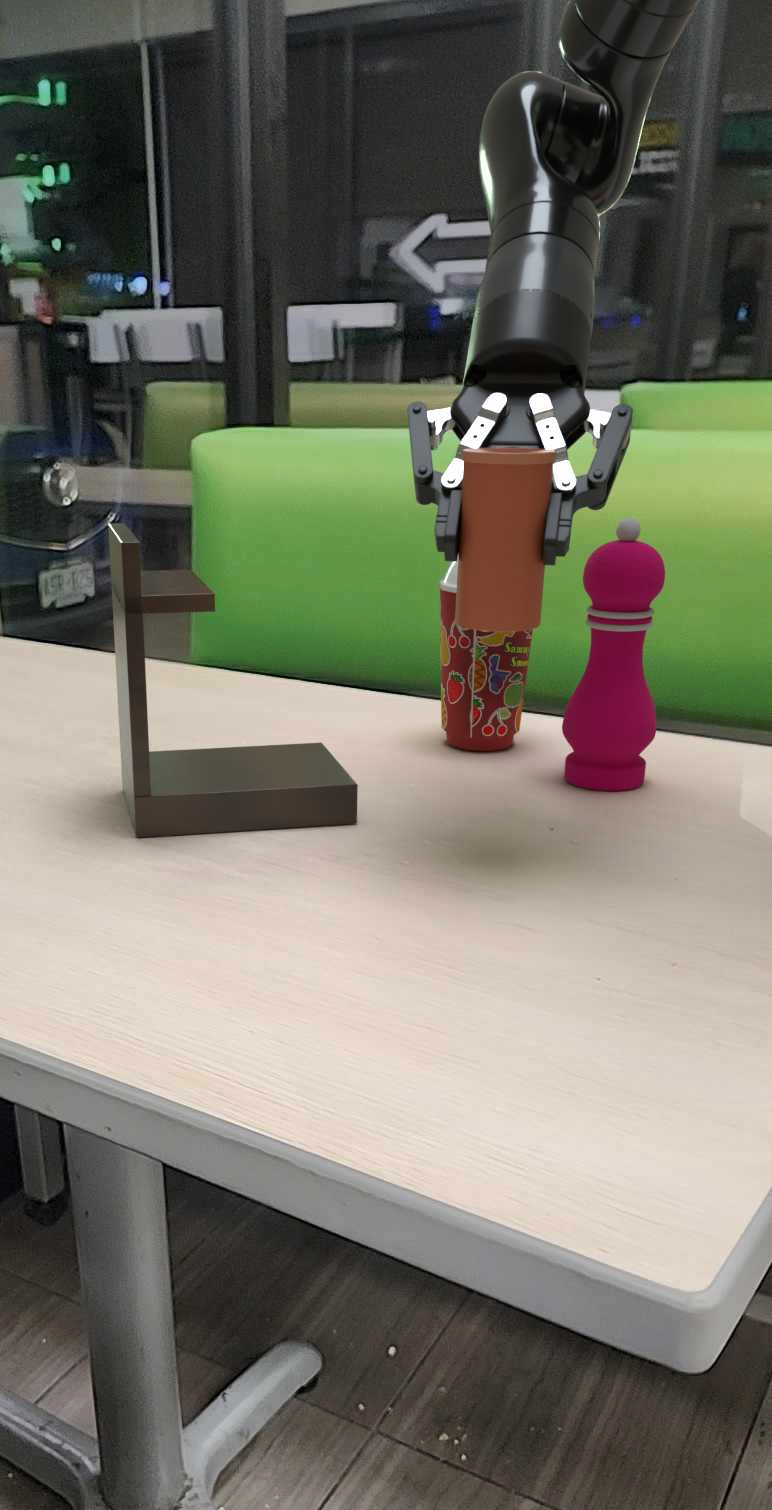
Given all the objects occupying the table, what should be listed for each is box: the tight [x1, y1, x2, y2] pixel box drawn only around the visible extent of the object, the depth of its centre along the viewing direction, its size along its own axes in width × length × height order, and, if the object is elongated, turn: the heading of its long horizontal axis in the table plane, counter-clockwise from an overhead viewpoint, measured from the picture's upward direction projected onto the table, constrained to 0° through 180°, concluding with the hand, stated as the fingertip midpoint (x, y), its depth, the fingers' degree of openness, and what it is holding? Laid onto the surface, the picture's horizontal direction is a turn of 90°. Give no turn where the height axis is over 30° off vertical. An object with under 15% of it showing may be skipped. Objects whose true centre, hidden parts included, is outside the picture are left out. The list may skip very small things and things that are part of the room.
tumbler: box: [455, 448, 556, 632], centre depth 79 cm, size 5×5×10 cm
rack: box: [107, 522, 359, 839], centre depth 96 cm, size 16×12×20 cm
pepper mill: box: [561, 517, 666, 792], centre depth 102 cm, size 7×7×20 cm
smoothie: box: [438, 553, 534, 752], centre depth 113 cm, size 8×8×20 cm
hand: (499, 553), depth 78 cm, fingers closed on tumbler, 5 cm apart
